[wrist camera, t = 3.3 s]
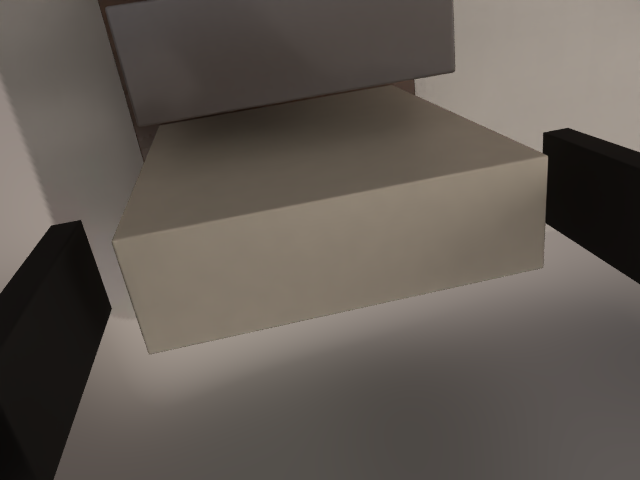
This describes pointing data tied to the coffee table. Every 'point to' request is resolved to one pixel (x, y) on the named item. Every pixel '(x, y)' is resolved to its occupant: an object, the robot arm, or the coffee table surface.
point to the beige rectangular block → (321, 213)
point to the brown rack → (267, 52)
